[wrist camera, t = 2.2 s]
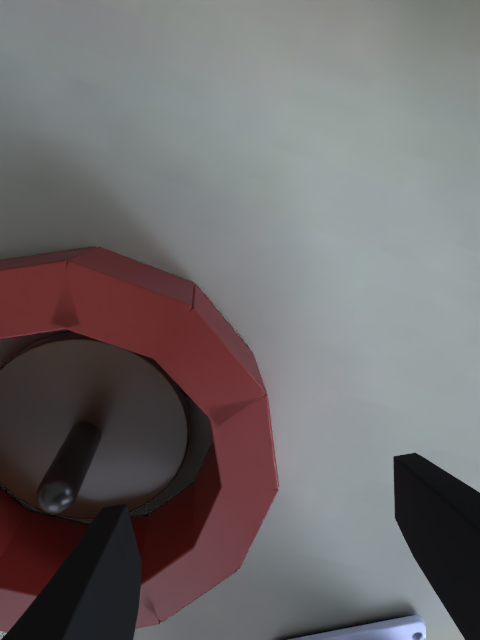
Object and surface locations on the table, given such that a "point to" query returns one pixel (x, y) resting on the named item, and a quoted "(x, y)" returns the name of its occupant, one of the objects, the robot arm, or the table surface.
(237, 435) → the ring
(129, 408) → the peg stand
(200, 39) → the table surface
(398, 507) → the robot arm
